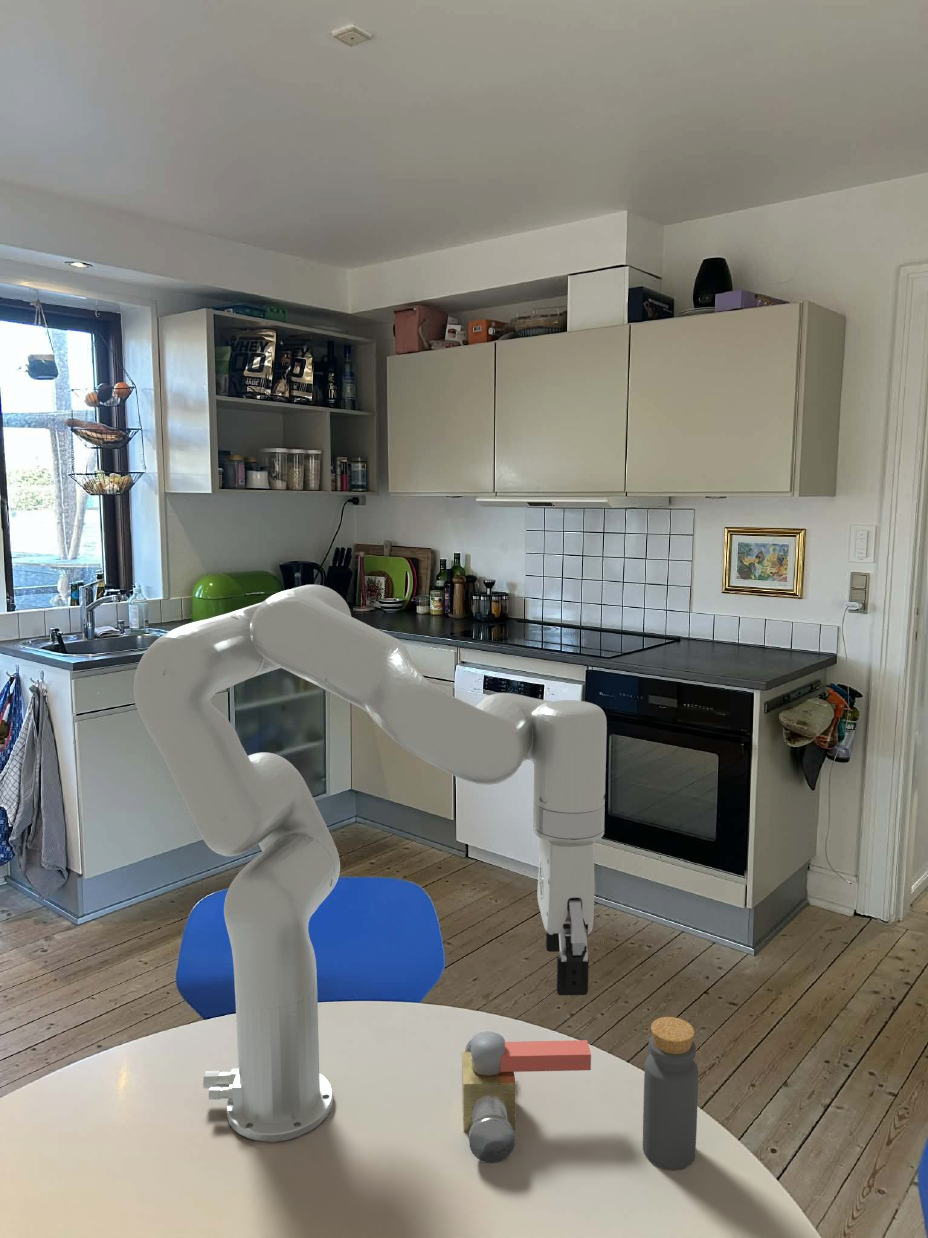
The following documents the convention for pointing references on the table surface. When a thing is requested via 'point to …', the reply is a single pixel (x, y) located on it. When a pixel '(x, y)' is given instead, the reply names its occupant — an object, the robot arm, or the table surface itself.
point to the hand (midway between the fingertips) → (565, 970)
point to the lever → (527, 1055)
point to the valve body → (488, 1111)
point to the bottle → (670, 1095)
